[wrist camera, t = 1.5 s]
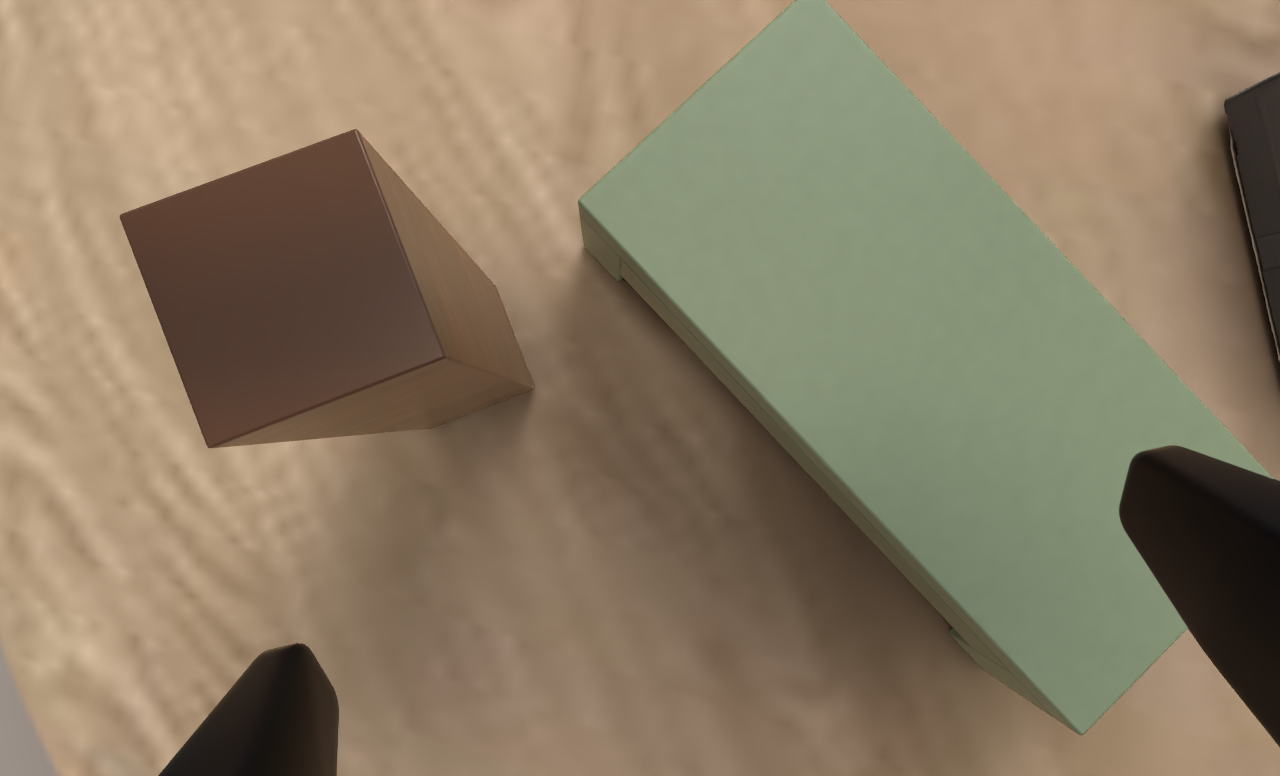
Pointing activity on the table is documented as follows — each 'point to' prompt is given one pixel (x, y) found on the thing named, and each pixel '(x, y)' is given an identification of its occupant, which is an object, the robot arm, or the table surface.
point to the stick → (321, 302)
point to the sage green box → (912, 351)
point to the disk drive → (1260, 180)
